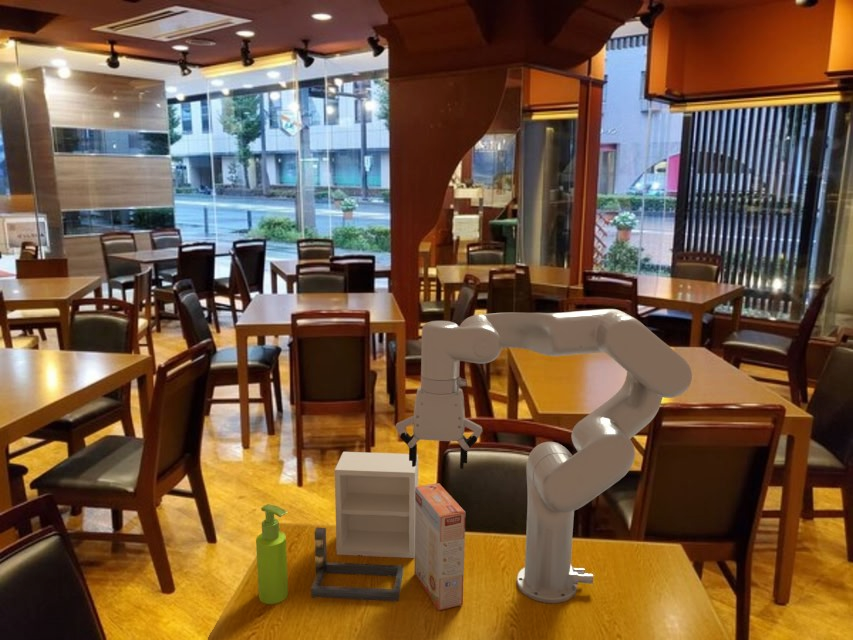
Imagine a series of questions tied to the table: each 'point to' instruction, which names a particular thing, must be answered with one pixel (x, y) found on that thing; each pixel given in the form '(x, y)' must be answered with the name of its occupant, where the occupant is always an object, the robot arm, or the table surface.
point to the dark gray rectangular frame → (351, 568)
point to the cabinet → (375, 504)
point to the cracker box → (439, 545)
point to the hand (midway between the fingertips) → (438, 465)
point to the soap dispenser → (272, 558)
